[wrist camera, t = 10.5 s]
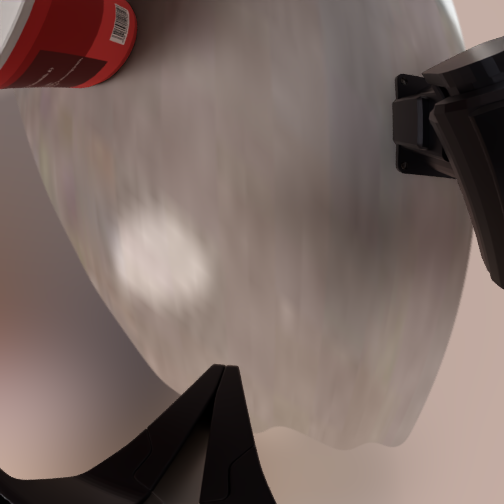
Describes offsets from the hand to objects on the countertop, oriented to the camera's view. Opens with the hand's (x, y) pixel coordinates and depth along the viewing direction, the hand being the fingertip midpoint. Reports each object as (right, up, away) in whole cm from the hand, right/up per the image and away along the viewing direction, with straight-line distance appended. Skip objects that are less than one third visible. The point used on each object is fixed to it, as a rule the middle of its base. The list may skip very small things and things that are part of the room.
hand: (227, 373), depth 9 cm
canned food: (-11, +20, +6) cm, 23 cm away
